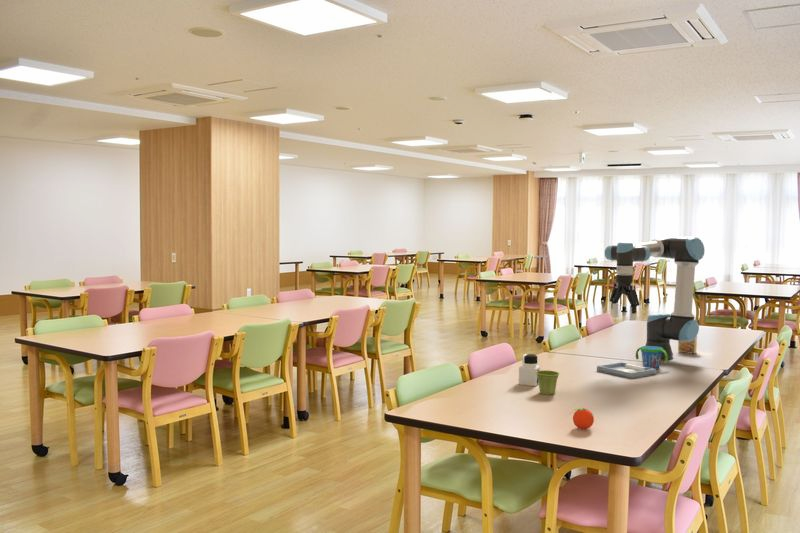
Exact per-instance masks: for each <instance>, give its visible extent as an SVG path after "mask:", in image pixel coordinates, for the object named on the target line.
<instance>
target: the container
mask: <svg viewBox="0 0 800 533" xmlns="http://www.w3.org/2000/svg"><path fill="white" fill-rule="evenodd" d="M521 363H522V365H521V366H518V385H521V386H531V387H537V385H538V386H539V380H538V375H537V373H536V372H537V371H541V366H540V365H538V356H537V354H532V353H524V354H523V355H522V362H521Z"/></svg>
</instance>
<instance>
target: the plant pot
mask: <svg viewBox="0 0 800 533" xmlns="http://www.w3.org/2000/svg"><path fill="white" fill-rule="evenodd" d="M536 373H537V375H538V380H539V384H538V387H539V393H540V394H542V395H546V396H549V395H555V393H556V389H557V388H556V387H557V382H558V378H559V375H560V373H559V372H558V371H555V370H549V369H548V370H540V371H537V372H536Z"/></svg>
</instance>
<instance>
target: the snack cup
mask: <svg viewBox="0 0 800 533" xmlns="http://www.w3.org/2000/svg"><path fill="white" fill-rule="evenodd" d="M639 352H641V359H642V360H641V361H642V366H644V367H648V368H653V369H656V370H657V369H659V368H660V367H661V362H662V359H661V356H662V352H664V354H665V357H666V358H665V359H664V364H666V363H668V360H669V359H668V356H667V353H666V351H665V350H663V348H662V347H657V346H645V345H643V346H640V347H638V348H637V350H636V351H635V359H636V360H639Z"/></svg>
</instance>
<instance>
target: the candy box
mask: <svg viewBox="0 0 800 533" xmlns="http://www.w3.org/2000/svg"><path fill="white" fill-rule="evenodd" d="M697 339H698V335H697V336H696V337H695V339H694V340H692V341H690V342H685V341H684V342H682V341H678V340H677V343H678V347H677V352H678V351H679V353H685V352H689V353H688V354H692V353H695V354H697V345H698V344H697V342H698V340H697Z"/></svg>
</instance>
